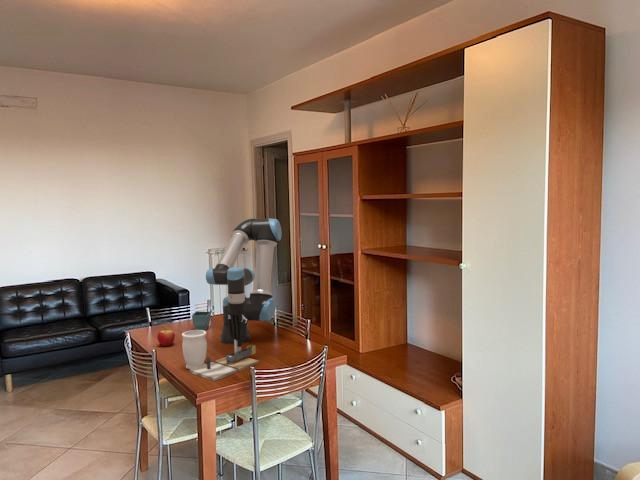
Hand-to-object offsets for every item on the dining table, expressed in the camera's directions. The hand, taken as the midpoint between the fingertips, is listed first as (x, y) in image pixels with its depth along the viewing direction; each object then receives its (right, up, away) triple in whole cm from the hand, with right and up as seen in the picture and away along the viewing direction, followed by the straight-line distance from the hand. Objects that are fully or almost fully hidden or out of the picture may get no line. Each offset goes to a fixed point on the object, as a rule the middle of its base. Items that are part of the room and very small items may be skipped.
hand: (237, 353), depth 218 cm
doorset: (-4, -4, -10) cm, 11 cm away
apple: (-40, -2, +23) cm, 46 cm away
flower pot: (-29, +1, +53) cm, 60 cm away
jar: (-17, -4, -8) cm, 19 cm away
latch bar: (+2, -1, -4) cm, 4 cm away
